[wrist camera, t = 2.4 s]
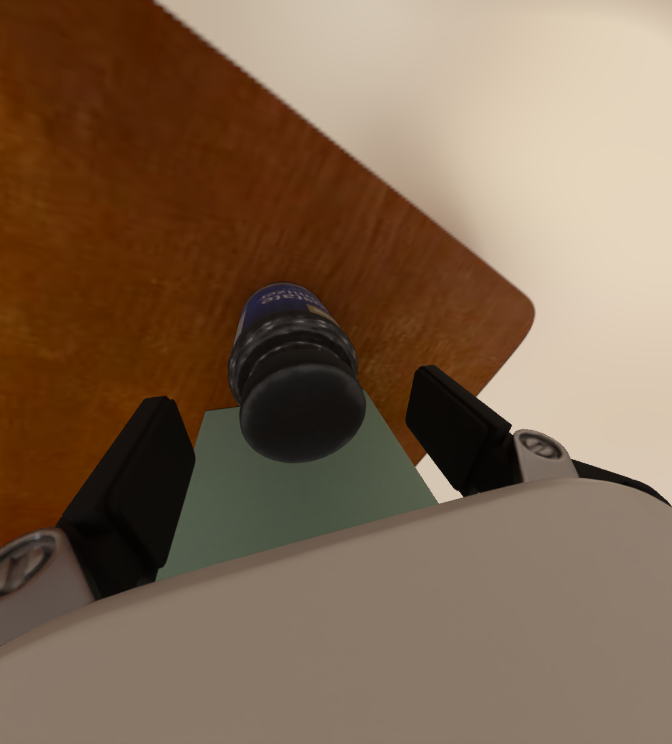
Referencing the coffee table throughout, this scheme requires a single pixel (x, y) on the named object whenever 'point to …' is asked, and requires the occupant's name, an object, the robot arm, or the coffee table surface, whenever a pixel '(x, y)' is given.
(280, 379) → the pill bottle
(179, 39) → the coffee table surface
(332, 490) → the slim lidded bin
